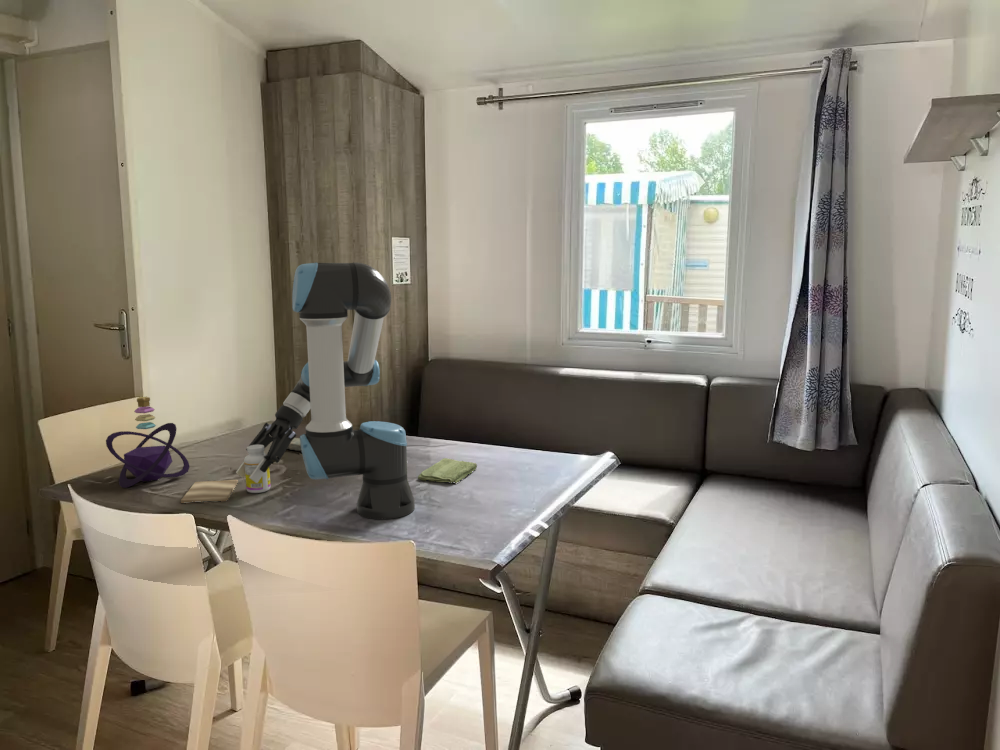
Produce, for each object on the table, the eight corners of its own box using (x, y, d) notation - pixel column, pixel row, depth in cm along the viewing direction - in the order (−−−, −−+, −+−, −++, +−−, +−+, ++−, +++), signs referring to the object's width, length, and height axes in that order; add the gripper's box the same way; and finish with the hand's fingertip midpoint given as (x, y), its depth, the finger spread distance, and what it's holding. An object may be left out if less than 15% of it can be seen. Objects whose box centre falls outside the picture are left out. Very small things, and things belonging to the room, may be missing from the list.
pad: (227, 501, 202) (227, 497, 202) (181, 503, 200) (180, 500, 200) (238, 482, 217) (238, 479, 217) (195, 485, 215) (195, 481, 215)
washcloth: (415, 482, 219) (415, 471, 218) (443, 465, 235) (443, 456, 234) (454, 487, 214) (454, 476, 213) (480, 470, 230) (480, 460, 229)
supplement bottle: (262, 484, 215) (259, 442, 213) (275, 489, 211) (272, 445, 209) (241, 490, 210) (238, 447, 208) (254, 495, 206) (251, 450, 204)
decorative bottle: (100, 478, 222) (92, 397, 218) (171, 463, 237) (164, 387, 233) (127, 495, 207) (118, 408, 202) (200, 478, 221) (194, 397, 217)
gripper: (320, 423, 213) (274, 491, 203) (282, 414, 225) (237, 477, 216) (304, 408, 208) (255, 477, 198) (266, 399, 220) (219, 464, 211)
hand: (246, 477), depth 207 cm, fingers closed on supplement bottle, 7 cm apart
